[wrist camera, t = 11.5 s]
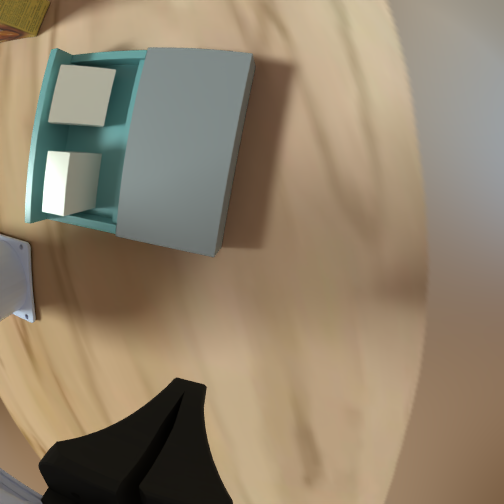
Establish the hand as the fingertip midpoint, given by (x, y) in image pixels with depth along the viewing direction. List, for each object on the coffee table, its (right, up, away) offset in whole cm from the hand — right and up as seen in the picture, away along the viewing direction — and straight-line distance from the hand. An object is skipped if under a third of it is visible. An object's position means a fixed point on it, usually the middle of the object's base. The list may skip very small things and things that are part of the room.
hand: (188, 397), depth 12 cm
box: (-9, +15, +8) cm, 19 cm away
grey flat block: (-2, +13, +8) cm, 15 cm away
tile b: (-8, +17, +4) cm, 19 cm away
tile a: (-9, +11, +6) cm, 15 cm away
